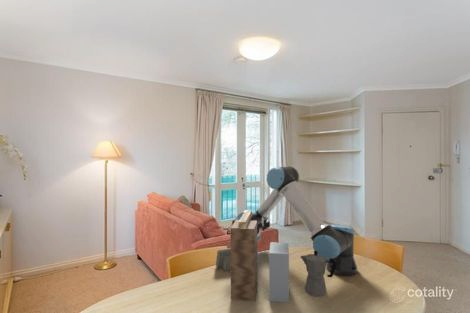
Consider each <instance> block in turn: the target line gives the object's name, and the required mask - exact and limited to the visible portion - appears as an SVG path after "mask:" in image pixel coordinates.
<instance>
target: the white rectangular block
mask: <svg viewBox="0 0 470 313" xmlns="http://www.w3.org/2000/svg"><path fill="white" fill-rule="evenodd" d="M269 243H270V244H269V252H268V268H269V269H268V275H269V276H268V282H269V284H268V287H269V288H268V290H269V291H268V292H269V293H268V299H269V300H268V302H275V303H290V274H289V273H290V250H289V243H288V242H275V241H272V242H269Z"/></svg>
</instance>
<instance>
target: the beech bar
mask: <svg viewBox="0 0 470 313" xmlns="http://www.w3.org/2000/svg"><path fill="white" fill-rule="evenodd" d="M244 211H245V212H244V214H243V215H242V217H241V218H240V220H239V222H238V229H246V227H247V225H248V223H249V221H250V219H251V217H252V213H253V210H252V209H246V210H244Z"/></svg>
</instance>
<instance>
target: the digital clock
mask: <svg viewBox="0 0 470 313" xmlns="http://www.w3.org/2000/svg"><path fill="white" fill-rule="evenodd" d="M215 259H216V261H215V267H216V268H219V269H220V268H223V270H224V271H225V272H227V271H231V247H228V248H227V247H226V248H220V249H218V250H217V251H216V258H215Z"/></svg>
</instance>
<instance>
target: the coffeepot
mask: <svg viewBox="0 0 470 313" xmlns="http://www.w3.org/2000/svg"><path fill="white" fill-rule="evenodd" d="M317 253H318V252H317V251H314V250H313V254H312V253H309V254H306V255H301V256H300V259H301V260H302V261H303V262H304V265H305V266H306V267H305V268H306V272H307V276H306V282H305V286H304V290H305V292H306V294H308V295H309V296H312V297H317V298H318V297H323V296H325V295H326V294H327V293H328V292H327V287H326V286H327V285H326V282H325V277H324V275H325V273H326V269H327V268H326V263H333V265H332V269H331V271H329V274H326V277H327V278H333V276H334V271H335V269H336V266H337V262H336V261H335V260H334V259H333V258H325V257H324V256H322V255H318V254H317Z"/></svg>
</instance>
